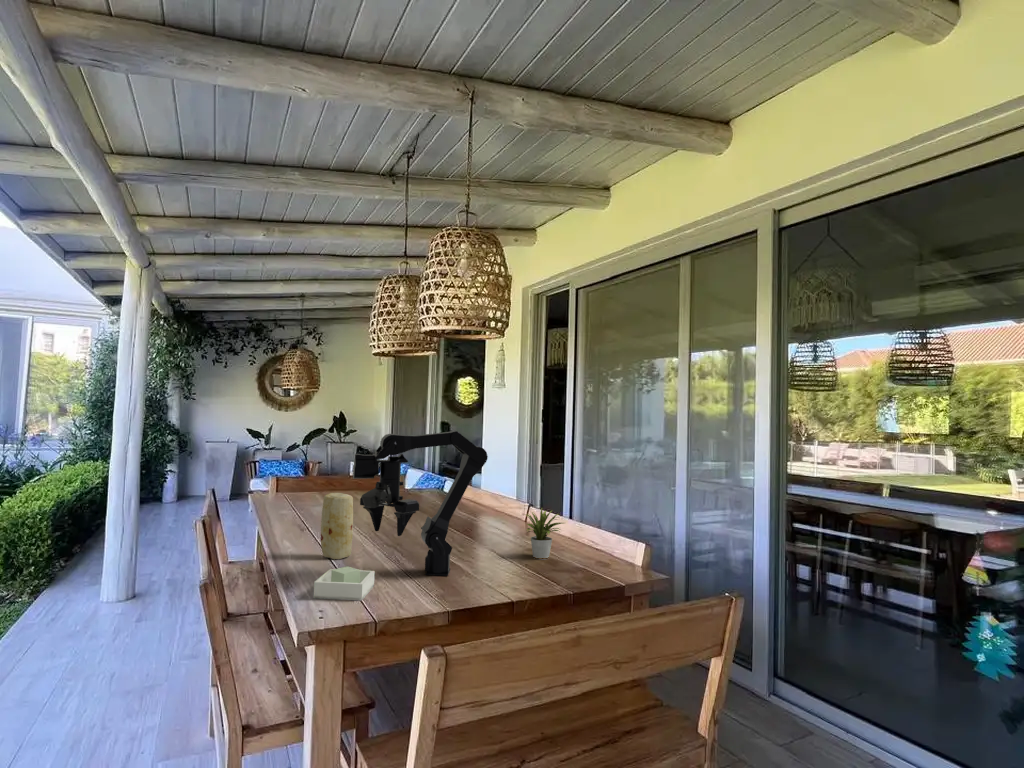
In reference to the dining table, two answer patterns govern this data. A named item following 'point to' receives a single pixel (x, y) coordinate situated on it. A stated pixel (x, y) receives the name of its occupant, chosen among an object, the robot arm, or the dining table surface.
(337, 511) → the food model
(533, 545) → the house plant
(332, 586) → the bin
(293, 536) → the dining table surface
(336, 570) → the green block
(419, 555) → the dining table surface
